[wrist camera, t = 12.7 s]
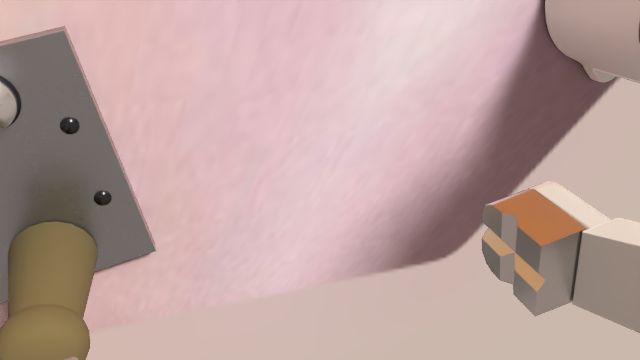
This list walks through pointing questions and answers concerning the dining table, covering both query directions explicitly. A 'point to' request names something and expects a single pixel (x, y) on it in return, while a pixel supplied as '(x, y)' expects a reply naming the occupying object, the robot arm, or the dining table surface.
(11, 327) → the cork
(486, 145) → the dining table surface
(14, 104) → the steel pin
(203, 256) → the dining table surface
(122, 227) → the flange plate
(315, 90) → the dining table surface
